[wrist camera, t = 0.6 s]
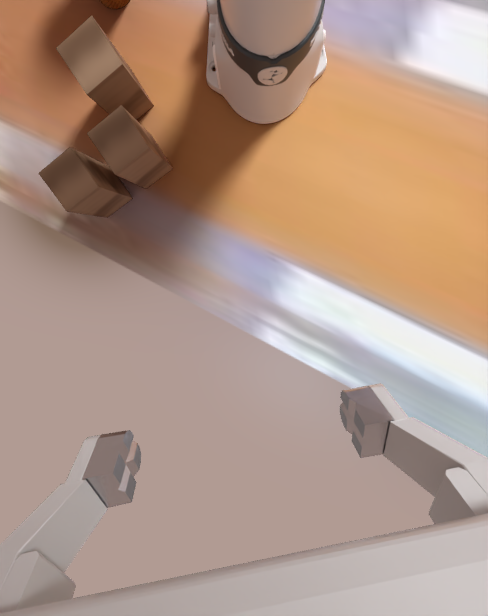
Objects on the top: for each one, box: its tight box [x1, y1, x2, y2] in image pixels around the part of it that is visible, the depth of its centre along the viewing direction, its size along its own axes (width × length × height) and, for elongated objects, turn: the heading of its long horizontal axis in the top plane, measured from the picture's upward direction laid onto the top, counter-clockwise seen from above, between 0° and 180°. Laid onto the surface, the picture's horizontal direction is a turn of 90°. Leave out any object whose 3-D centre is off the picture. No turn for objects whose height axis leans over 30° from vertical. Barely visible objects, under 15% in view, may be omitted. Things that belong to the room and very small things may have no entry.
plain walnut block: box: [39, 147, 133, 217], centre depth 43 cm, size 6×6×11 cm
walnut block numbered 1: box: [87, 105, 173, 189], centre depth 42 cm, size 6×6×11 cm
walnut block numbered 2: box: [56, 16, 154, 120], centre depth 39 cm, size 6×6×11 cm
